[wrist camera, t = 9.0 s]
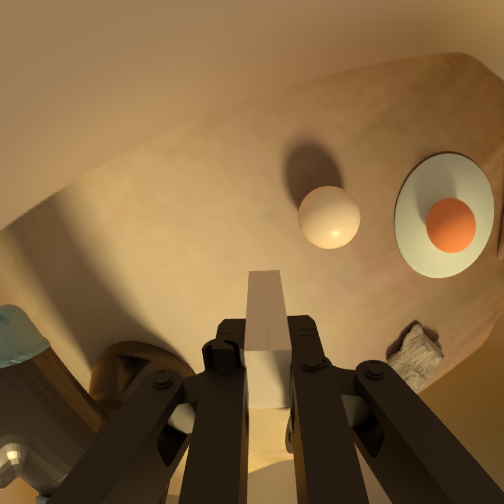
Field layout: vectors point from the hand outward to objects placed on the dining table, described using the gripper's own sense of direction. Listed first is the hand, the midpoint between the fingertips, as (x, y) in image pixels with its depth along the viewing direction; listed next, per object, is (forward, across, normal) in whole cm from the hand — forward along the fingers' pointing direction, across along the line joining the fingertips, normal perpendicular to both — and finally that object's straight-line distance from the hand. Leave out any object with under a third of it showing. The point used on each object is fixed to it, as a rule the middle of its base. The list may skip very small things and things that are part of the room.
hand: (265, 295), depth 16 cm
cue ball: (+12, -6, -1) cm, 14 cm away
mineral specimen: (+16, -18, +19) cm, 31 cm away
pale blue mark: (+15, -20, 0) cm, 25 cm away
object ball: (+12, -19, 0) cm, 23 cm away
